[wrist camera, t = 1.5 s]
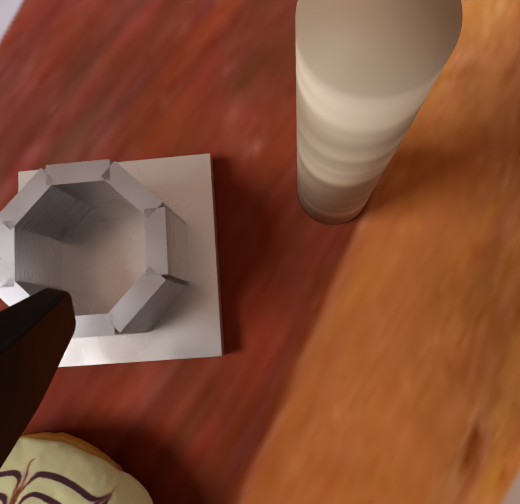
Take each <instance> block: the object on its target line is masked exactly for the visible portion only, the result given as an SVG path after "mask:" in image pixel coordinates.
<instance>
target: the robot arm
mask: <svg viewBox="0 0 520 504" xmlns="http://www.w3.org/2000/svg"><path fill="white" fill-rule="evenodd" d="M75 328H76V318H75V313H74V308H73V302H72V297H71V295H70V293H69V292H67V291H64V290H60V289H56V288H45V289H42V290H40V291H39V292H37V293H35V294H33V295H31V296H29V297H27V298H25V299H23V300H21V301H19V302H17V303H15V304H13V305H11V306H10V307H8V308H6V309H4V310H2V311H0V469H1V467H2V466H3V464H4V462H5V461H6V459H7V457H8V456H9V454H10V453H11V451H12V449H13V448H14V446H15V445H16V443H17V441H18V440H19V438H20V436H21V435H22V433H23V432H24V430H25V428H26V427H27V425H28V424H29V422H30V420H31V419H32V417H33V415H34V414H35V412H36V410H37V408H38V407H39V405H40V403H41V401H42V399H43V397H44V395H45V393H46V391H47V389H48V387H49V385H50V383H51V381H52V379H53V377H54V375H55V372H56V370H57V368H58V366H59V364H60V362H61V360H62V358H63V356H64V354H65V351H66V349H67V347H68V345H69V343H70V341H71V339H72V337H73V335H74V332H75Z"/></svg>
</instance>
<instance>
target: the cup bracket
mask: <svg viewBox="0 0 520 504" xmlns="http://www.w3.org/2000/svg"><path fill="white" fill-rule="evenodd" d="M0 221H1V222H0V298H1V299H2V300H3V301H4V302H5V303H6V304H7V305H8V306H9V307H10V306H11V305H13V304H15V303H17V302H19V301H21V300H23V299H25V298H27V297H29V296H31V295H33V294H35V293H37V292H39V291H40V290H42V289H45V288H56V289H60V290H64V291H67V292H69V293H70V295H71V297H72V302H73V308H74V313H75V318H76V328H75V332H74V335H73V337H72V339H71V341H70V343H69V345H68V347H67V349H66V351H65V354H64V356H63V358H62V360H61V362H60V364H59V366H58V367H67V366H81V365H96V364H111V363H125V362H140V361H155V360H169V359H184V358H199V357H213V356H223V355H225V352H224V335H223V319H222V302H221V285H220V269H219V252H218V235H217V219H216V202H215V185H214V169H213V158H212V156H211V155H210V153H209V154H199V155H188V156H178V157H168V158H157V159H147V160H136V161H126V162H116V161H114V162H112V161H111V160H110V159H106V160H96V161H85V162H75V163H65V164H54V165H46V169H42V168H40V169H39V170H33V171H22V172H19V193H18V194H17V195H16V196H15V197H14V198H13V199H12V200H11V201H10V202H9V204H8V205H7V206H6V207H5V208H4V209H3V210H2V211H1V212H0Z"/></svg>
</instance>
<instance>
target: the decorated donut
mask: <svg viewBox="0 0 520 504" xmlns="http://www.w3.org/2000/svg"><path fill="white" fill-rule="evenodd" d="M0 504H153V501H152V499H151V497H150V495H149V493H148V492H147V490H146V489H145V488H144V487H143V485H142V484H141V483H140V482H139V481H138V480H136V479H135V478H134V477H133V476H131V475H130V474H128V473H125V472H124V471H123V469H122V468H121V466H120V465H119V464H117V463H116V462H114V461H113V460H112V459H111V458H110V457H109V456H108V455H106V454H105V453H103V452H102V451H100V450H99V449H98V448H96V447H94V446H93V445H91V444H90V443H88V442H86V441H84V440H82V439H80V438H77V437H74V436H72V435H69V434H67V433H63V432H61V433H51V432H44V433H36V434H29V435H23V436H20V438H19V440H18V441H17V443H16V445H15V446H14V448H13V449H12V451H11V453H10V454H9V456H8V457H7V459H6V461H5V462H4V464H3V466H2V467H1V469H0Z"/></svg>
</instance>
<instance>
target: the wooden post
mask: <svg viewBox="0 0 520 504" xmlns="http://www.w3.org/2000/svg"><path fill="white" fill-rule="evenodd" d="M461 27H462V5H461V0H298V2H297V7H296V101H297V189H298V199H299V202H300V204H301V206H302V208H303V210H304V211H305V212H306V213H307V214H308V215H309V216H310V217H311V218H313V219H314V220H316V221H318V222H320V223H323V224H329V225H337V224H342V223H346V222H348V221H350V220H352V219H353V218H355V217H356V216H357V215H358V214H359V213H360V212H361V211H362V209H363V208H364V206H365V204H366V202H367V201H368V199H369V197H370V195H371V194H372V192H373V190H374V188H375V187H376V185H377V183H378V181H379V180H380V178H381V176H382V174H383V173H384V171H385V169H386V167H387V166H388V164H389V162H390V160H391V159H392V157H393V155H394V153H395V152H396V150H397V148H398V146H399V145H400V143H401V141H402V139H403V138H404V136H405V134H406V132H407V131H408V129H409V127H410V125H411V124H412V122H413V120H414V118H415V117H416V115H417V113H418V111H419V110H420V108H421V106H422V104H423V102H424V101H425V99H426V97H427V95H428V94H429V92H430V90H431V88H432V87H433V85H434V83H435V81H436V80H437V78H438V76H439V74H440V73H441V71H442V69H443V67H444V66H445V64H446V62H447V60H448V59H449V57H450V55H451V53H452V52H453V50H454V48H455V46H456V44H457V41H458V38H459V36H460V31H461Z"/></svg>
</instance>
